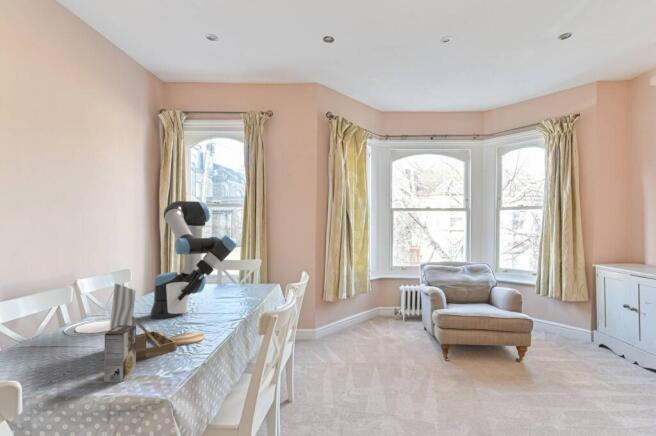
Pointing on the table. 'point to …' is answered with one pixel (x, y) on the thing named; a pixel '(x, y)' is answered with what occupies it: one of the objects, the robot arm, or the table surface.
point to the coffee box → (120, 353)
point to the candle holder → (172, 292)
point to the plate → (92, 327)
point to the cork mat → (188, 338)
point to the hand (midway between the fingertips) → (170, 302)
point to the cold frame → (124, 316)
